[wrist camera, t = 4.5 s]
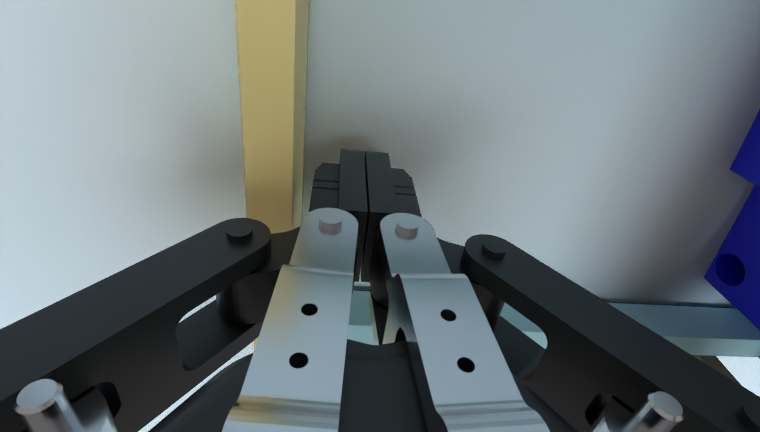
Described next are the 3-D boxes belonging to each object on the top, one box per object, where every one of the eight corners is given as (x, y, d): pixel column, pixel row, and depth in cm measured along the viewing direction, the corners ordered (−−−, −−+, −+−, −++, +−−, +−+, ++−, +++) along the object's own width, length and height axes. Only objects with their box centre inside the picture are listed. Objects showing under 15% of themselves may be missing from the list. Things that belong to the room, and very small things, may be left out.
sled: (263, -185, 10) (214, -257, 6) (1068, -31, 13) (1358, -17, 9) (271, 306, 19) (253, 397, 15) (746, 326, 22) (828, 405, 18)
